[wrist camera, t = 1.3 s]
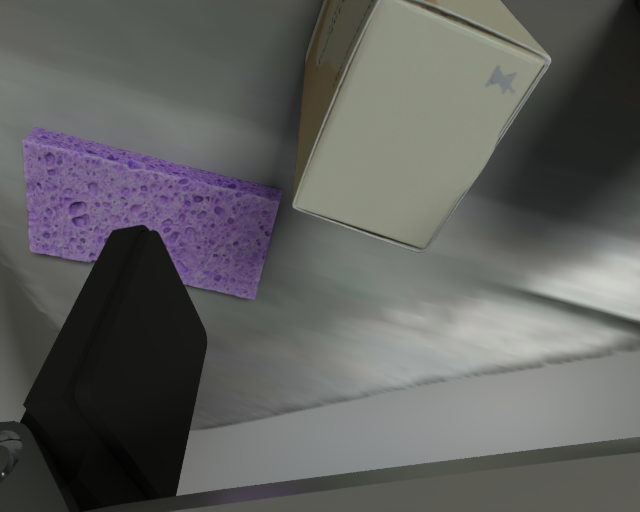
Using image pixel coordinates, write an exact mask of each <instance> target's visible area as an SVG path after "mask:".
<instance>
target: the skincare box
mask: <svg viewBox="0 0 640 512" xmlns="http://www.w3.org/2000/svg"><path fill="white" fill-rule="evenodd" d="M550 63H551V57H550V56H549V55H548V54H547V53H546V52H545V51H544V49H543V48H542V47H541V46H540V45H539V44H538V43H537V42H536V41H535V40H534V39H533V37H532V36H531V35H530V34H529V33H528V32H527V30H526V29H525V28H524V27H523V26H522V25H521V24H520V23H519V21H518V20H517V19H516V18H515V17H514V16H513V15H512V14H511V13H510V11H509V10H508V9H507V8H506V7H505V5H504V4H503V3H502V2H501V1H500V0H324V1H323V4H322V7H321V10H320V13H319V16H318V19H317V22H316V25H315V28H314V31H313V34H312V37H311V40H310V43H309V46H308V49H307V53H306V60H305V72H304V85H303V96H302V105H301V117H300V126H299V137H298V148H297V157H296V168H295V179H294V189H293V198H292V207H293V208H294V209H296V210H298V211H301V212H304V213H307V214H310V215H313V216H316V217H318V218H321V219H323V220H326V221H328V222H331V223H334V224H337V225H340V226H342V227H345V228H348V229H350V230H353V231H356V232H359V233H362V234H365V235H368V236H371V237H374V238H376V239H379V240H382V241H385V242H388V243H391V244H394V245H397V246H400V247H403V248H406V249H408V250H411V251H414V252H418V253H421V252H425V251H426V250H428V249H429V248H430V247H431V245H432V244H433V242H434V240H435V239H436V237H437V236H438V234H439V233H440V231H441V230H442V228H443V227H444V226H445V224H446V223H447V221H448V219H449V218H450V216H451V215H452V213H453V212H454V210H455V209H456V207H457V206H458V204H459V203H460V201H461V200H462V198H463V197H464V195H465V194H466V193H467V191H468V190H469V188H470V187H471V185H472V184H473V182H474V181H475V180H476V178H477V177H478V176H479V174H480V173H481V171H482V170H483V168H484V167H485V165H486V163H487V161H488V160H489V158H490V156H491V155H492V153H493V151H494V150H495V148H496V146H497V145H498V143H499V142H500V140H501V138H502V137H503V135H504V134H505V133H506V131H507V130H508V128H509V127H510V125H511V124H512V122H513V121H514V119H515V117H516V116H517V114H518V112H519V111H520V109H521V108H522V106H523V105H524V103H525V102H526V100H527V99H528V97H529V96H530V94H531V93H532V91H533V90H534V88H535V87H536V85H537V83H538V82H539V80H540V79H541V77H542V76H543V74H544V73H545V72H546V70H547V69H548V67H549V65H550Z"/></svg>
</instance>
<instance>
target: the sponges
mask: <svg viewBox="0 0 640 512" xmlns="http://www.w3.org/2000/svg"><path fill="white" fill-rule="evenodd" d="M22 144H23V159H24V175H25V182H26V183H27V184H28V191H27V193H26V198H27V210H28V211H29V217H28V219H29V226H30V227H29V230H28V231H29V232H28V234H29V240H30V251H31V252H35V253H40V254H48V255H51V256H59V257H62V258H65V259H70V260H76V261H83V262H91V261H96V260H97V259H98V257H99V255H100V253H101V251H102V249H103V247H104V245H105V243H106V241H107V239H108V237H109V235H110V233H111V232H112V231H113V230H116V229H121V228H126V227H132V226H137V225H145V226H146V227H147V228H148V229H149V230H150V231H152V230H155V231H157V232H158V233H159V234H160V236H161V238H162V240H163V242H164V244H165V246H166V248H167V251H168V253H169V255H170V257H171V259H172V261H173V263H174V265H175V267H176V269H177V272H178V274H179V276H180V278H181V280H182V282H183V284H186V285H190V286H194V287H198V288H203V289H206V290H214V291H218V292H222V293H225V294H231V295H235V296H238V297H241V298H247V299H252V300H254V299H255V298H256V294H257V290H258V286H259V282H260V278H261V274H262V270H263V265H264V262H265V258H266V254H267V250H268V245H269V242H270V237H271V233H272V229H273V225H274V222H275V218H276V214H277V210H278V207H279V203H280V199H281V195H282V190H281V189H274V188H271V187H265V186H262V185H260V184H256V183H252V182H248V181H241V180H239V179H236V178H233V177H223V176H221V175H219V174H216V173H211V172H207V171H203V170H200V169H194V168H191V167H188V166H184V165H179V164H176V163H172V162H168V161H164V160H160V159H156V158H152V157H149V156H145V155H141V154H136V153H133V152H130V151H122V150H119V149H115V148H112V147H110V146H107V145H103V144H99V143H96V142H92V141H88V140H84V139H80V138H77V137H73V136H70V135H66V134H62V133H58V132H54V131H50V130H44V129H41V128H38V127H36V128H35V129H33V130H32V131H31V132H30V133H29V135H28V136H27V137H25V138H24V139H23V140H22Z"/></svg>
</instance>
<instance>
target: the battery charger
mask: <svg viewBox="0 0 640 512" xmlns="http://www.w3.org/2000/svg"><path fill="white" fill-rule="evenodd" d="M635 7H636V9H637V11H638V12H639V13H640V0H635Z"/></svg>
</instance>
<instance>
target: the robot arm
mask: <svg viewBox="0 0 640 512" xmlns="http://www.w3.org/2000/svg"><path fill="white" fill-rule="evenodd" d="M206 348H207V336H206V331H205V328H204V326H203V324H202V322H201V320H200V318H199V316H198V314H197V311H196V309H195V307H194V305H193V303H192V301H191V299H190V297H189V295H188V293H187V290H186V288H185V286H184V284H183V282H182V280H181V278H180V276H179V274H178V272H177V269H176V267H175V265H174V263H173V261H172V259H171V257H170V255H169V253H168V251H167V248H166V246H165V244H164V242H163V240H162V238H161V236H160V234H159V233H158V232H157V231H155V230H152V231H150V230H149V229H148V228H147V227H146V226H145V225H137V226H132V227H126V228H121V229H116V230H113V231H112V232H111V233H110V235H109V237H108V239H107V241H106V243H105V245H104V247H103V249H102V251H101V253H100V255H99V257H98V259H97V260H96V262H95V264H94V266H93V268H92V270H91V272H90V274H89V276H88V278H87V280H86V282H85V284H84V286H83V288H82V290H81V292H80V294H79V296H78V298H77V300H76V302H75V304H74V306H73V308H72V310H71V312H70V313H69V315H68V317H67V319H66V321H65V323H64V325H63V327H62V329H61V331H60V333H59V335H58V337H57V339H56V341H55V343H54V345H53V347H52V349H51V351H50V353H49V355H48V357H47V359H46V361H45V363H44V365H43V366H42V369H41V370H40V372H39V374H38V376H37V378H36V380H35V382H34V384H33V386H32V388H31V390H30V392H29V394H28V396H27V398H26V400H25V402H24V404H23V405H24V407H25V408H26V412H25V413H24V415H23V417H22V419H21V421H20V423H19V422H15V421H9V422H0V512H640V437H635V438H626V439H618V440H609V441H602V442H594V443H585V444H577V445H569V446H561V447H553V448H544V449H537V450H529V451H521V452H512V453H504V454H496V455H488V456H480V457H473V458H465V459H456V460H448V461H440V462H432V463H424V464H416V465H408V466H401V467H393V468H384V469H376V470H369V471H361V472H353V473H345V474H339V475H330V476H322V477H315V478H307V479H299V480H292V481H284V482H276V483H268V484H261V485H253V486H245V487H237V488H230V489H222V490H215V491H208V492H202V493H194V494H188V495H181V496H176V493H177V488H178V484H179V479H180V473H181V469H182V464H183V459H184V455H185V450H186V445H187V440H188V435H189V431H190V426H191V421H192V416H193V411H194V406H195V402H196V397H197V392H198V387H199V382H200V377H201V372H202V368H203V363H204V358H205V353H206Z"/></svg>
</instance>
